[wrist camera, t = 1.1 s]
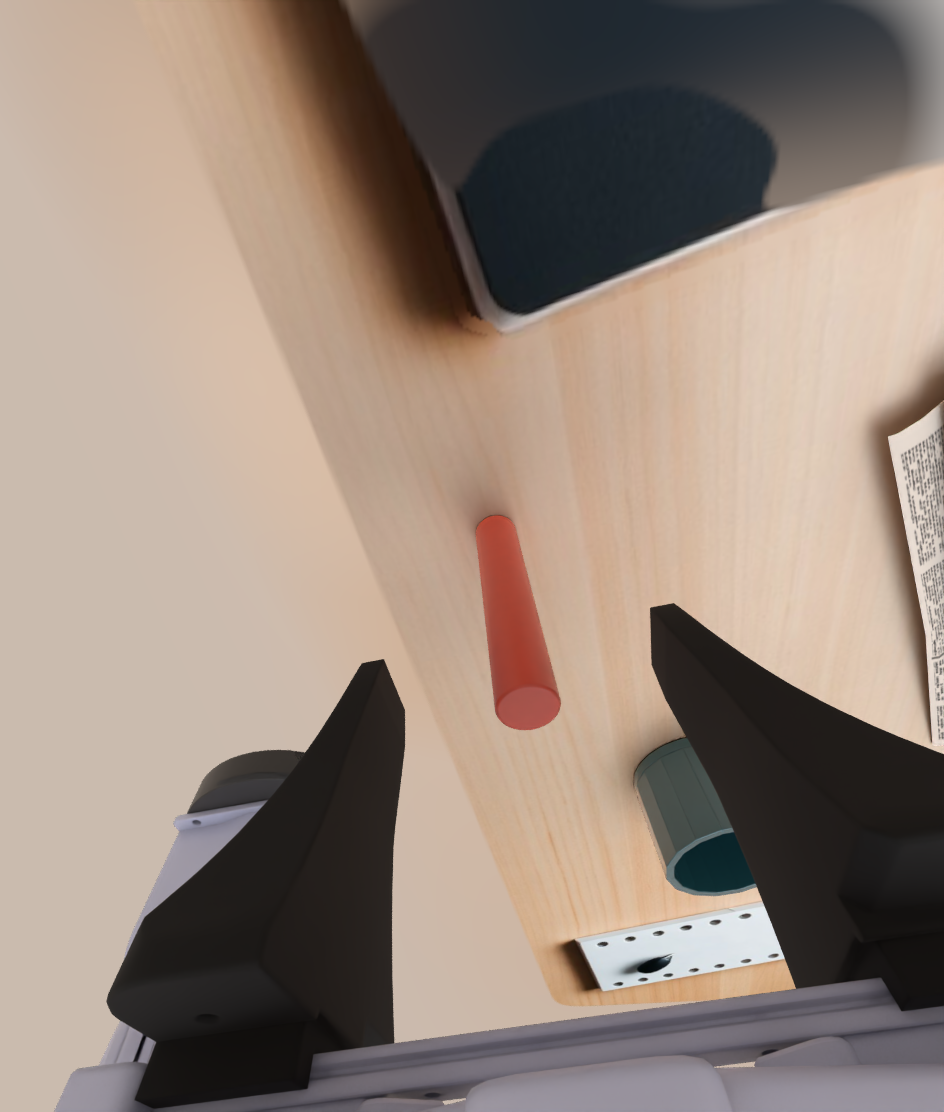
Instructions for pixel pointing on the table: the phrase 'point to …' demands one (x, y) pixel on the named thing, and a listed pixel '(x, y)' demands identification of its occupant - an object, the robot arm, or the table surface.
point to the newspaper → (926, 538)
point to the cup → (689, 824)
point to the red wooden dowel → (514, 631)
